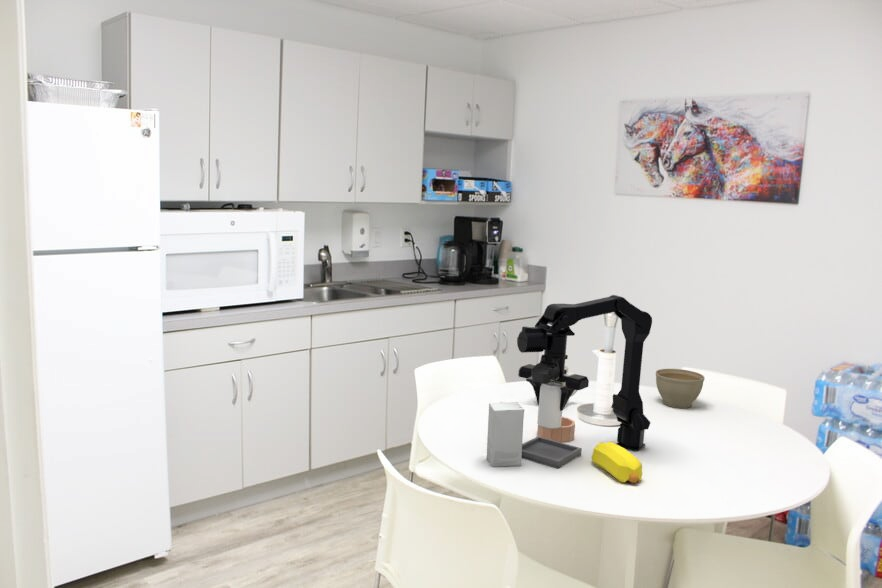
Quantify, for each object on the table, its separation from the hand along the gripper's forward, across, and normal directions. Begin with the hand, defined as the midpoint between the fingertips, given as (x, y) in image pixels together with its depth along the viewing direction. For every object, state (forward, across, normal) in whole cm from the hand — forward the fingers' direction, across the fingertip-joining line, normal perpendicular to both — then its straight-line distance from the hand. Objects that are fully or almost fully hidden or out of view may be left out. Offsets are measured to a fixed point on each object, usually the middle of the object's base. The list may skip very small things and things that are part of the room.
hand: (550, 407), depth 201 cm
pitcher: (+13, -22, +43) cm, 50 cm away
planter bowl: (+13, +8, +76) cm, 78 cm away
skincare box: (+14, -5, -14) cm, 20 cm away
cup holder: (+13, -6, +15) cm, 21 cm away
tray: (+13, +1, -1) cm, 13 cm away
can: (+5, 0, 0) cm, 5 cm away
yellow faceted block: (+14, +20, +1) cm, 24 cm away
